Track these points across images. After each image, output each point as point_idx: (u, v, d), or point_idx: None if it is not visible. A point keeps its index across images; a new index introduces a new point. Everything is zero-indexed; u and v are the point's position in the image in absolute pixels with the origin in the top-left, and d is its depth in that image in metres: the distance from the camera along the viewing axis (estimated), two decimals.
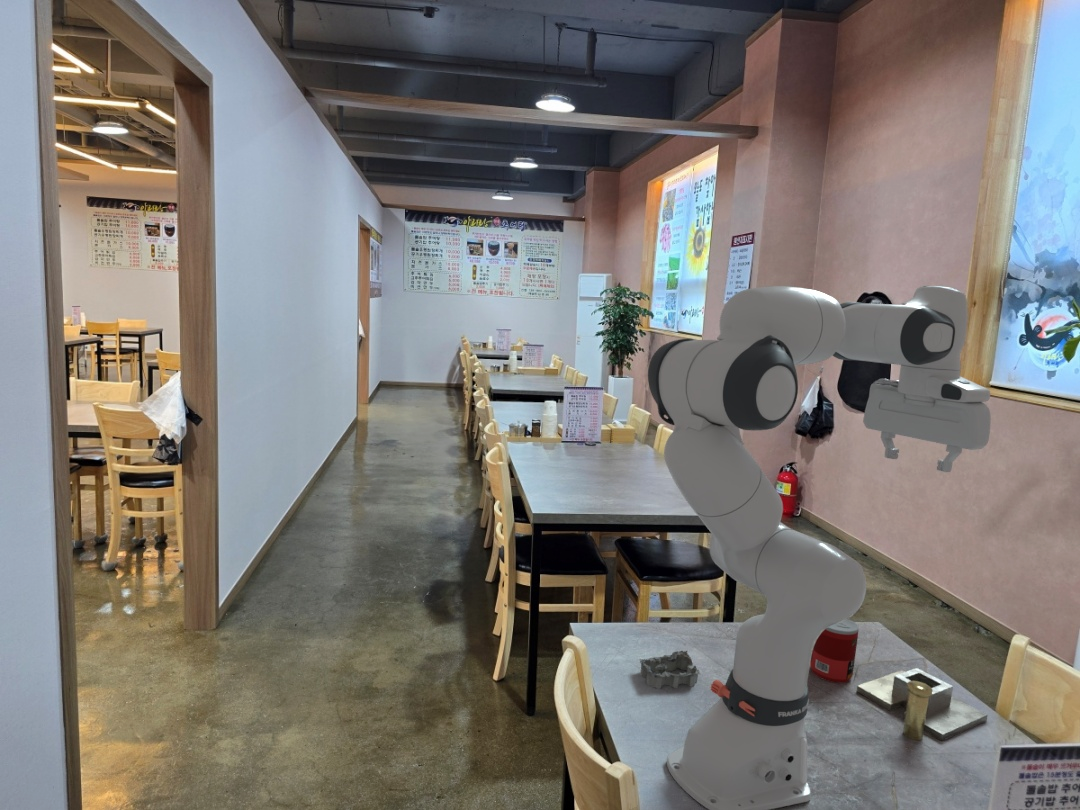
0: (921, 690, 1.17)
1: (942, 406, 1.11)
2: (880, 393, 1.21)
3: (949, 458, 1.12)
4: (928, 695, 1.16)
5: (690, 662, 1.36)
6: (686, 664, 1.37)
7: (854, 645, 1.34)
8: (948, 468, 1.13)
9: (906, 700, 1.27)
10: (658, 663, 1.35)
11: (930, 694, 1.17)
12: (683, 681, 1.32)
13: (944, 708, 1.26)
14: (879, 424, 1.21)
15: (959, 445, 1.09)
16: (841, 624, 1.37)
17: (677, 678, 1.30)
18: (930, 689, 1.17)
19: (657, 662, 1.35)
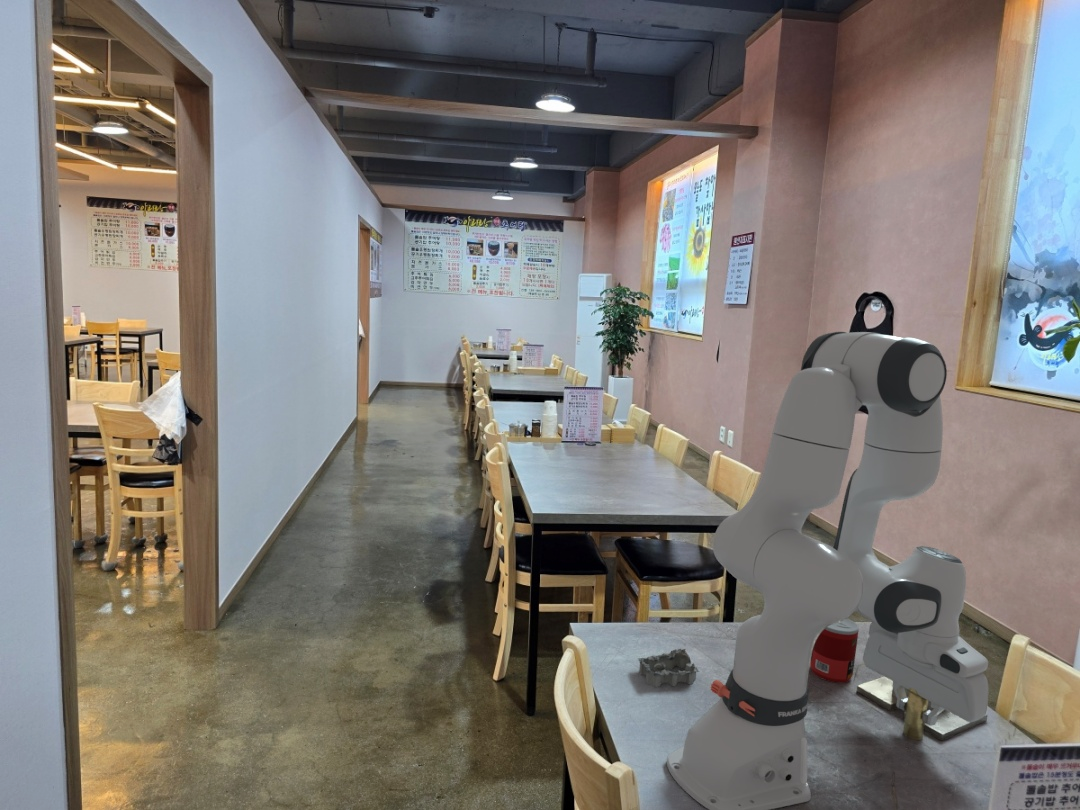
0: None
1: (941, 673, 1.12)
2: (880, 637, 1.22)
3: (933, 714, 1.15)
4: None
5: (688, 660, 1.36)
6: (684, 662, 1.37)
7: (854, 645, 1.34)
8: (933, 722, 1.16)
9: None
10: (657, 661, 1.36)
11: None
12: (682, 679, 1.32)
13: None
14: (879, 667, 1.23)
15: (957, 715, 1.11)
16: (841, 624, 1.37)
17: (676, 676, 1.31)
18: None
19: (656, 660, 1.36)
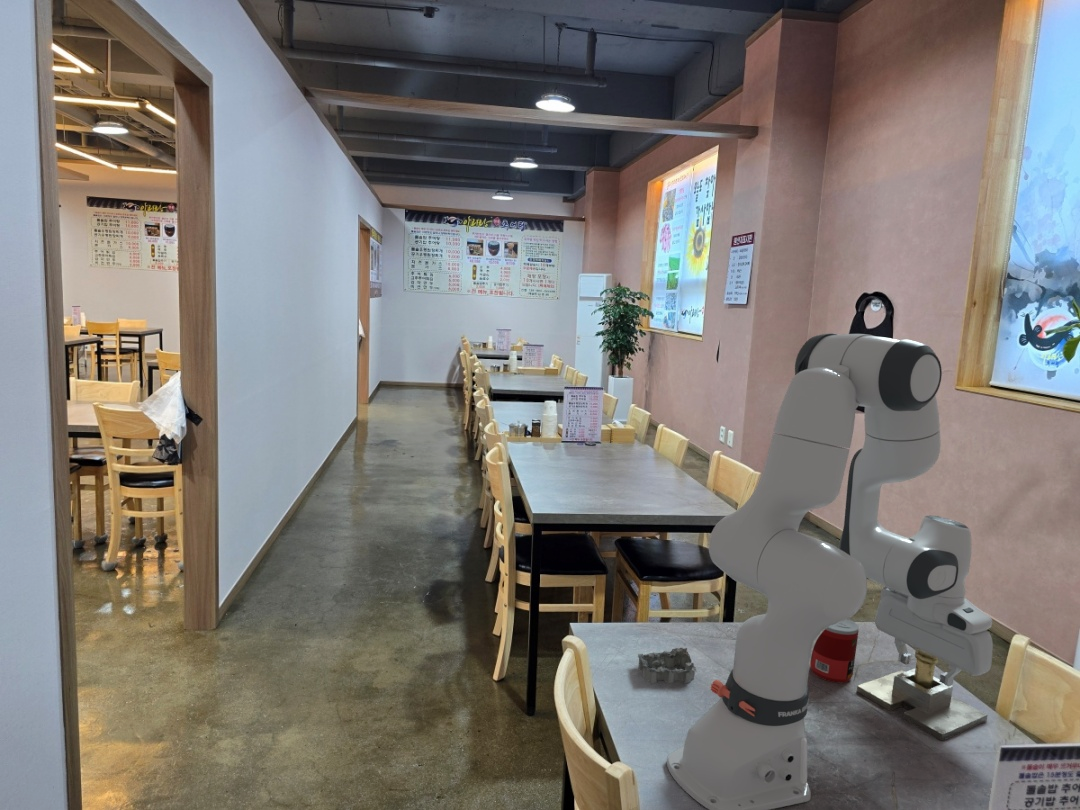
0: (928, 657, 1.26)
1: (948, 631, 1.21)
2: (891, 601, 1.31)
3: (951, 675, 1.22)
4: (935, 662, 1.25)
5: (689, 659, 1.37)
6: (685, 661, 1.38)
7: (854, 645, 1.34)
8: (950, 682, 1.23)
9: (906, 700, 1.27)
10: (656, 659, 1.37)
11: (936, 661, 1.26)
12: (679, 677, 1.33)
13: (944, 708, 1.26)
14: (890, 629, 1.31)
15: (964, 669, 1.20)
16: (841, 624, 1.37)
17: (672, 674, 1.31)
18: None
19: (655, 657, 1.37)
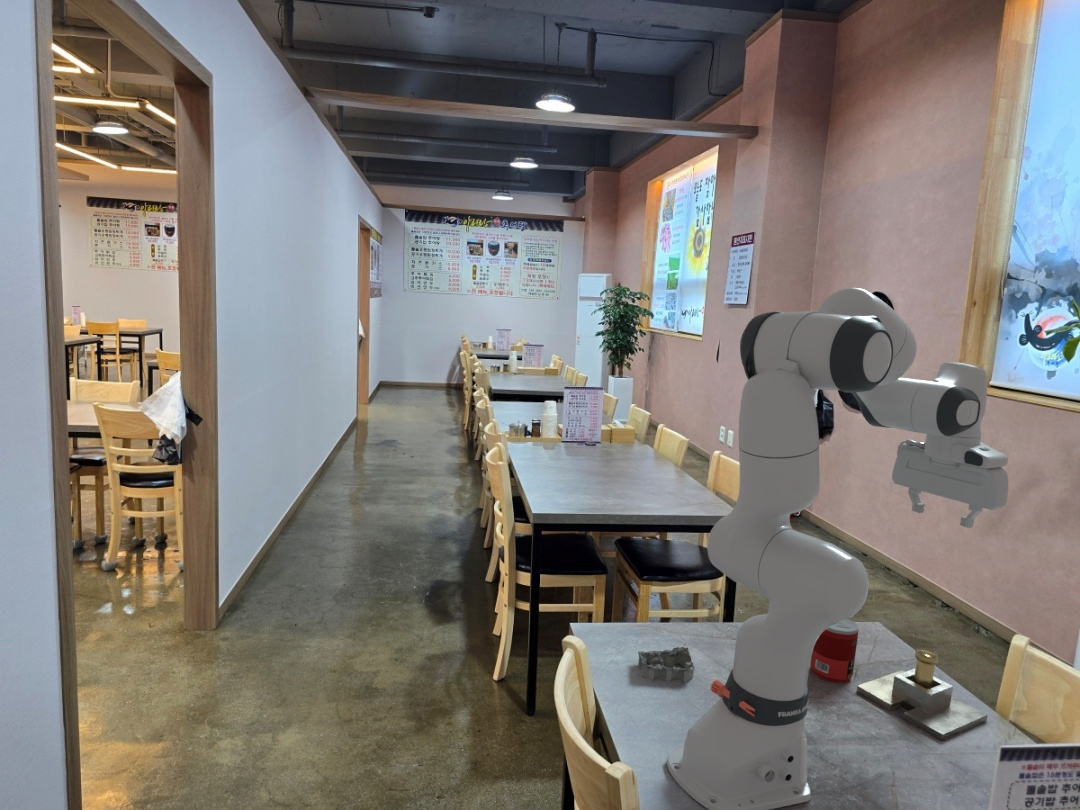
0: (928, 657, 1.26)
1: (965, 470, 1.25)
2: (908, 453, 1.35)
3: (971, 516, 1.25)
4: (934, 662, 1.25)
5: (689, 659, 1.37)
6: (686, 661, 1.38)
7: (854, 645, 1.34)
8: (970, 524, 1.26)
9: (906, 700, 1.27)
10: (657, 656, 1.38)
11: (936, 661, 1.26)
12: (678, 676, 1.33)
13: (944, 708, 1.26)
14: (907, 481, 1.35)
15: (980, 505, 1.23)
16: (841, 624, 1.37)
17: (670, 672, 1.32)
18: (936, 656, 1.27)
19: (656, 655, 1.38)
